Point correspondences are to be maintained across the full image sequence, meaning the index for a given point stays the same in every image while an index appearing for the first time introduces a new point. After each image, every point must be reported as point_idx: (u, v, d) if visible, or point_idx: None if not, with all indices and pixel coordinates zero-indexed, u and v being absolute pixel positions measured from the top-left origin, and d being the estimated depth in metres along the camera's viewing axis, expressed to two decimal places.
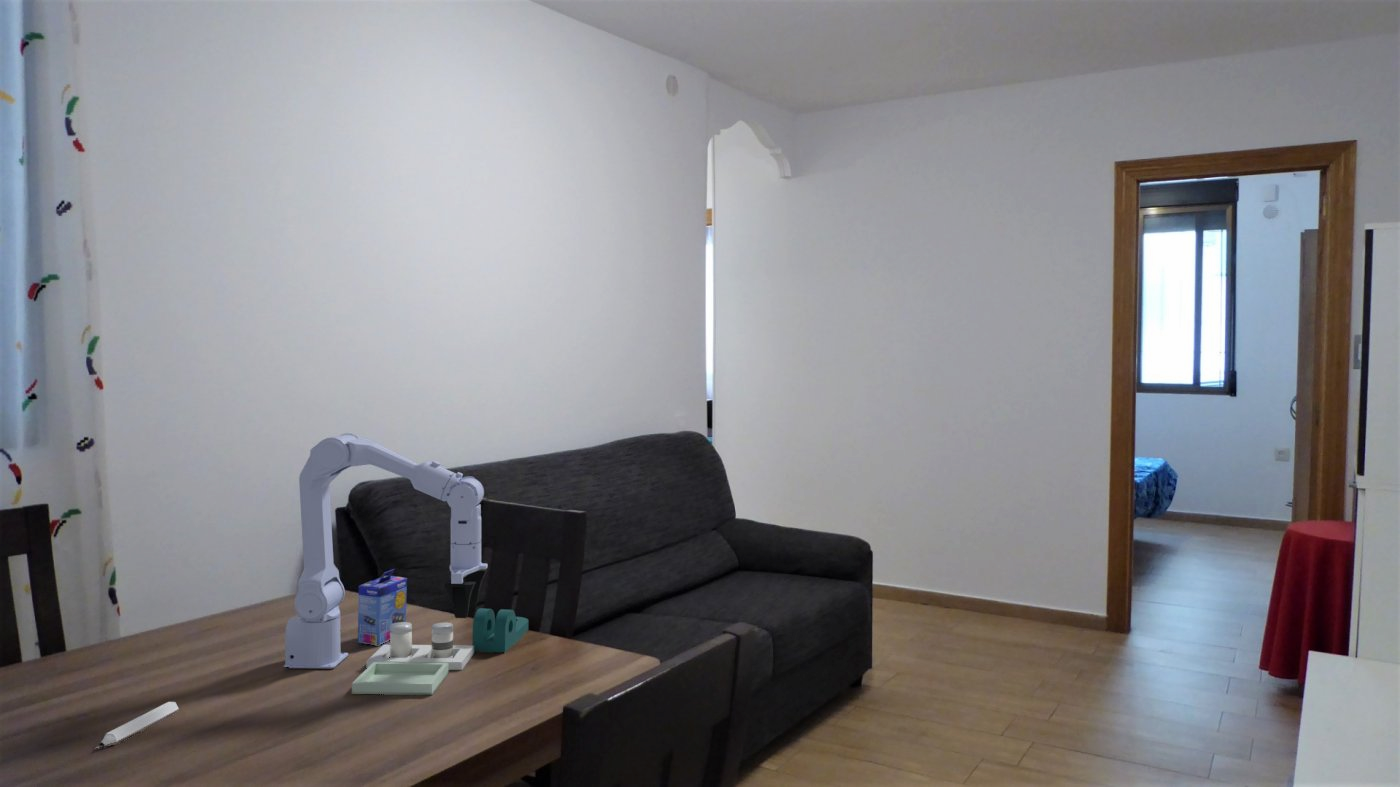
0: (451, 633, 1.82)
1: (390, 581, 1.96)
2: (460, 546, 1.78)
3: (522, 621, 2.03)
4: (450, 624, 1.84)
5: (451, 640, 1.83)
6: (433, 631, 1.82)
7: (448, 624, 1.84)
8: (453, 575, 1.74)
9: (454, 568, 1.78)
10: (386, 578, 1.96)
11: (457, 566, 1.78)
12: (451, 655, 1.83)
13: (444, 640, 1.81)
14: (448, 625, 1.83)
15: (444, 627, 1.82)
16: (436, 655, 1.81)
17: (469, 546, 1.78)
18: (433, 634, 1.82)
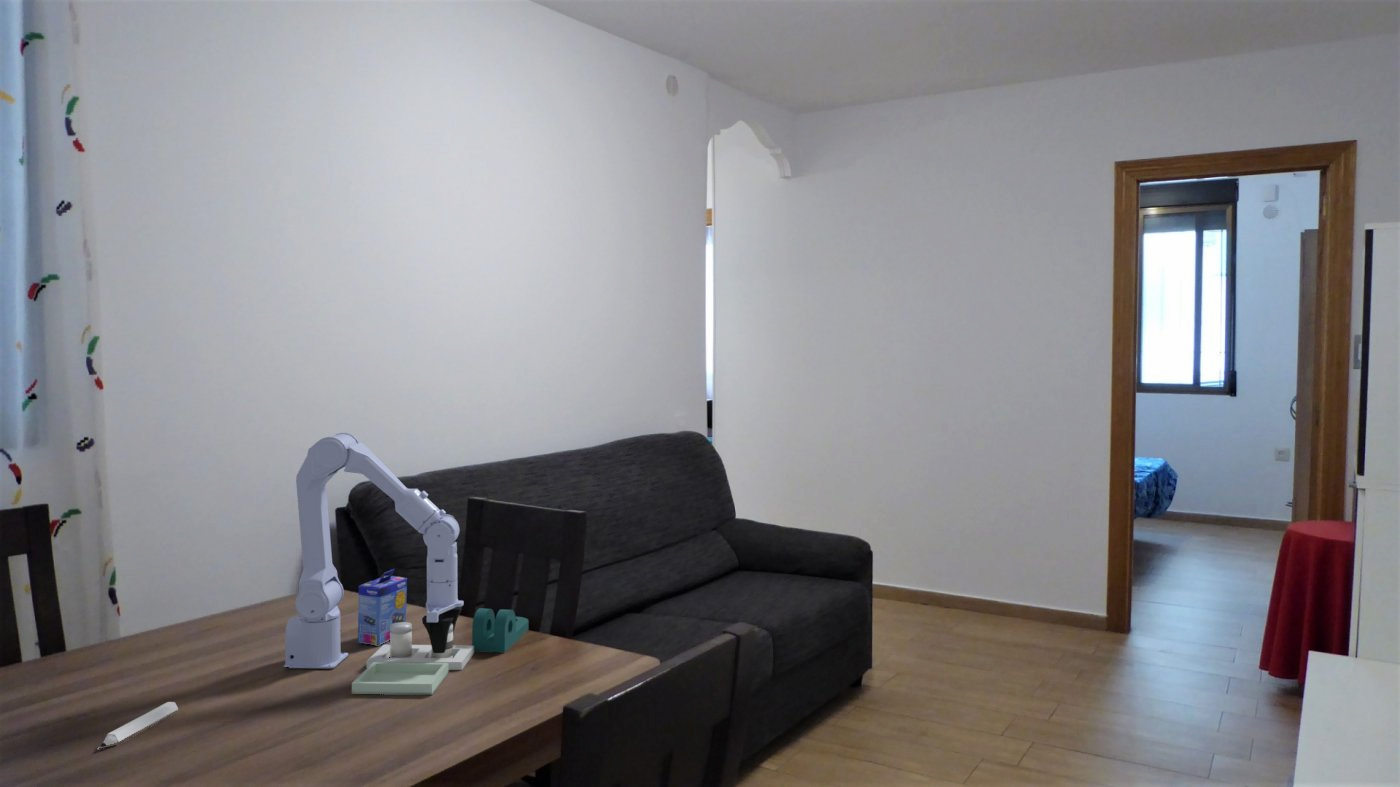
0: (451, 633, 1.82)
1: (390, 581, 1.96)
2: (436, 584, 1.80)
3: (522, 621, 2.03)
4: None
5: (451, 640, 1.83)
6: None
7: None
8: (429, 614, 1.76)
9: (430, 606, 1.80)
10: (386, 578, 1.96)
11: (433, 604, 1.80)
12: (451, 655, 1.83)
13: None
14: None
15: None
16: (436, 655, 1.81)
17: (445, 584, 1.80)
18: None
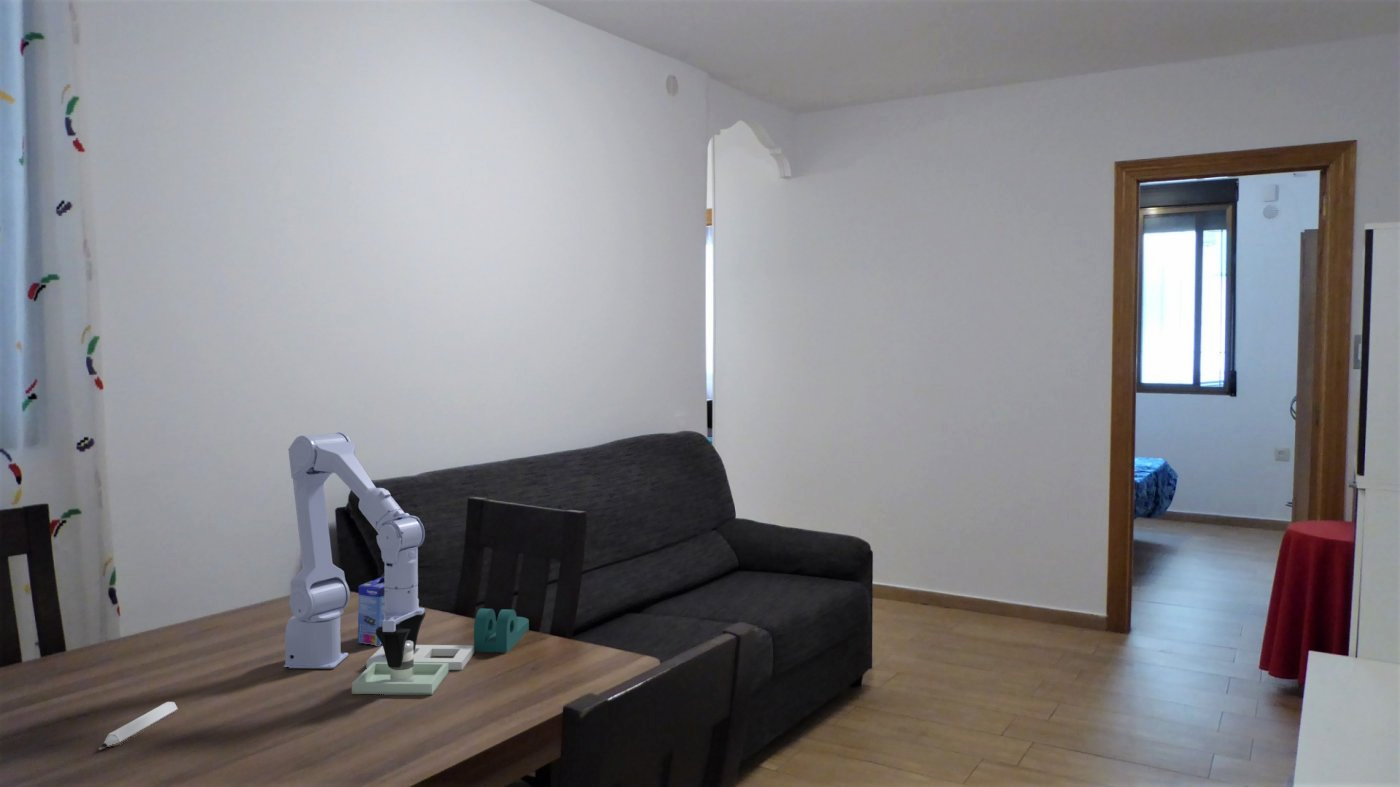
0: (411, 652, 1.70)
1: None
2: (394, 591, 1.67)
3: (522, 621, 2.03)
4: (410, 642, 1.71)
5: (411, 659, 1.70)
6: None
7: (408, 642, 1.71)
8: (385, 622, 1.63)
9: (388, 614, 1.68)
10: None
11: (391, 612, 1.67)
12: (411, 675, 1.70)
13: (403, 659, 1.69)
14: (408, 643, 1.70)
15: None
16: (395, 675, 1.69)
17: (404, 590, 1.67)
18: None
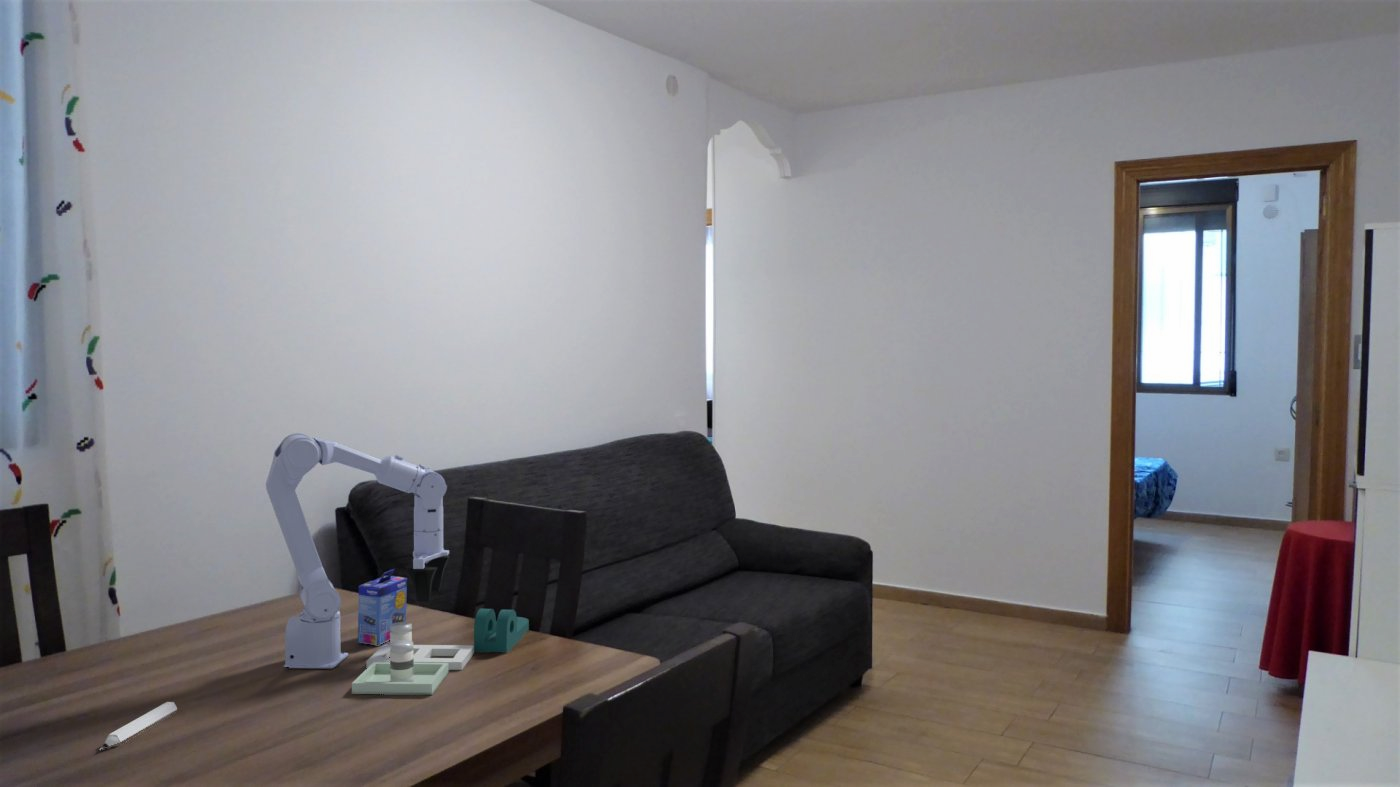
0: (411, 652, 1.70)
1: (390, 581, 1.96)
2: (422, 533, 1.88)
3: (522, 622, 2.03)
4: (410, 642, 1.71)
5: (411, 659, 1.70)
6: (392, 649, 1.69)
7: (408, 642, 1.71)
8: (415, 560, 1.84)
9: (417, 554, 1.88)
10: (386, 578, 1.96)
11: (420, 552, 1.88)
12: (411, 675, 1.70)
13: (403, 659, 1.69)
14: (408, 643, 1.70)
15: (403, 645, 1.69)
16: (395, 675, 1.69)
17: (431, 533, 1.88)
18: (392, 653, 1.69)
